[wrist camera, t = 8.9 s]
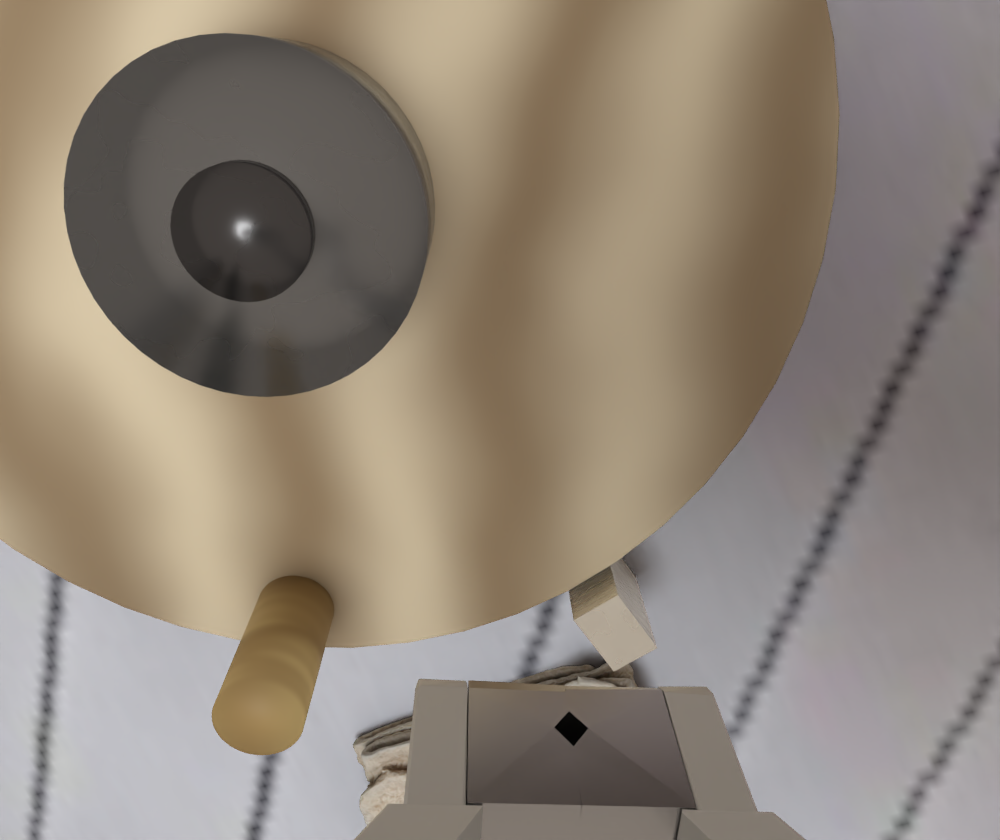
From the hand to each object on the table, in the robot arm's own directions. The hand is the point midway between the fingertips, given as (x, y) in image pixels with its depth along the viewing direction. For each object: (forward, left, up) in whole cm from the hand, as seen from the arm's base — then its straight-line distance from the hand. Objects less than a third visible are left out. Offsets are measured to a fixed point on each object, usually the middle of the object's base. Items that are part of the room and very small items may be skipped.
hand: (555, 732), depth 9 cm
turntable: (+6, -2, -17) cm, 18 cm away
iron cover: (+6, -2, -16) cm, 17 cm away
